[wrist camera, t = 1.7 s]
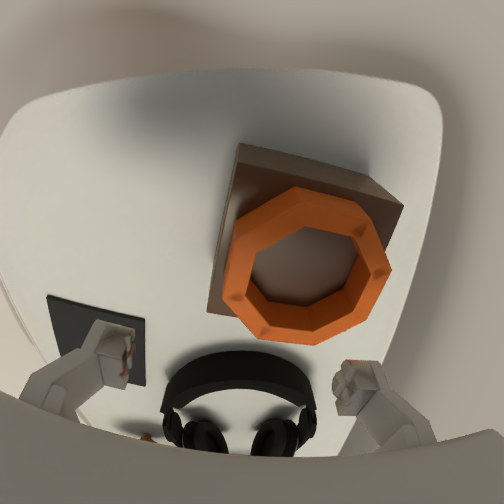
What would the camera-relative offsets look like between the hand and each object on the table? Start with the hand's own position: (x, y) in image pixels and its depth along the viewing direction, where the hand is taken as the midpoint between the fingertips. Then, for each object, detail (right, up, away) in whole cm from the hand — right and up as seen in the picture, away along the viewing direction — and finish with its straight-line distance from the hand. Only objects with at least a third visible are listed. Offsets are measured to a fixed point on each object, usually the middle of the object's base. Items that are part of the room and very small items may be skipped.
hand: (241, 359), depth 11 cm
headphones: (-1, -14, +24) cm, 28 cm away
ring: (+3, +3, +7) cm, 9 cm away
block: (+3, +6, +13) cm, 14 cm away
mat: (-16, -6, +19) cm, 26 cm away
